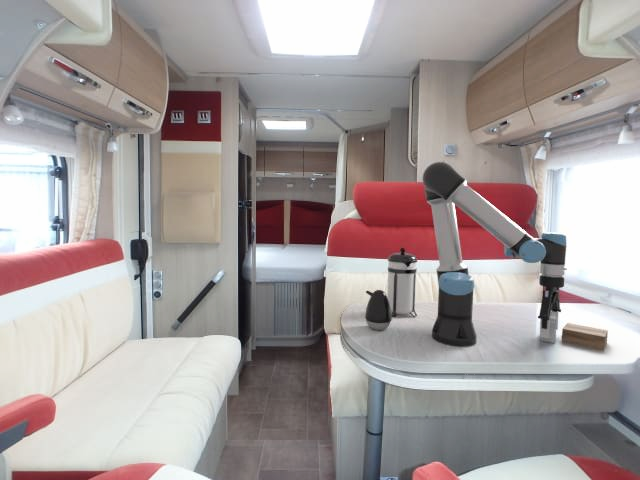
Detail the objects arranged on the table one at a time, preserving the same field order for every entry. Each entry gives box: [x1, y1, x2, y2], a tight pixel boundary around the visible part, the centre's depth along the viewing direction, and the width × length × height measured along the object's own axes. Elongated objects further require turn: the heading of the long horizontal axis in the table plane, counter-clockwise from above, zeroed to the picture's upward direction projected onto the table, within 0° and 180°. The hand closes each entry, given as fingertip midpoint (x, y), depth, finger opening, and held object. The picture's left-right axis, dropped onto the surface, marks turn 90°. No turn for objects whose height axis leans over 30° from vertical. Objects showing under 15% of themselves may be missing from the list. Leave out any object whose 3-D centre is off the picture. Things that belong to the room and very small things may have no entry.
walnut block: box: [561, 322, 609, 351], centre depth 127 cm, size 10×12×5 cm
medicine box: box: [540, 314, 557, 344], centre depth 130 cm, size 8×4×9 cm, turn 148°
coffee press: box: [387, 247, 418, 318], centre depth 160 cm, size 17×16×30 cm
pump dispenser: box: [364, 289, 393, 331], centre depth 139 cm, size 10×10×15 cm
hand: (548, 332), depth 130 cm, fingers open, 13 cm apart
